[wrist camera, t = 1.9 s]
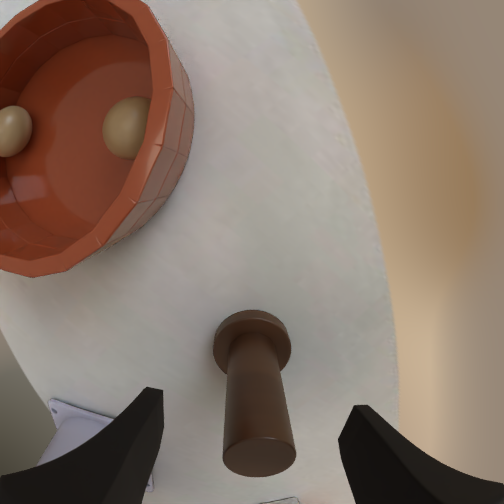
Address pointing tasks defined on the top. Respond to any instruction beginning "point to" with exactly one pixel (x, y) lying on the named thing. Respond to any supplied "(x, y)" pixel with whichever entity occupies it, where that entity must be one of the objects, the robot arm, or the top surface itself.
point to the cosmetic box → (285, 501)
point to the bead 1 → (14, 130)
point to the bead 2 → (126, 126)
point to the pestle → (255, 394)
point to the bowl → (86, 130)
